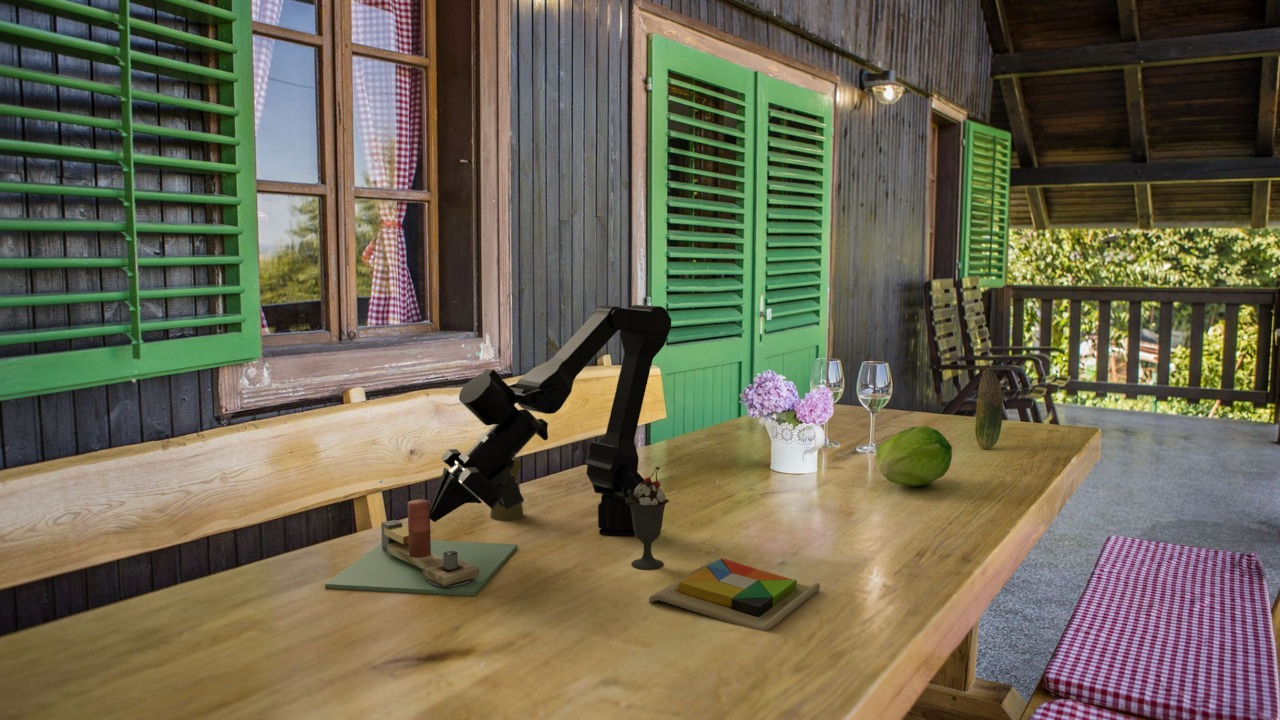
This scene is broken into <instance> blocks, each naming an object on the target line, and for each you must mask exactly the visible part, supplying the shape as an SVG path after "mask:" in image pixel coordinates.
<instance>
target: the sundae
mask: <svg viewBox="0 0 1280 720" xmlns="http://www.w3.org/2000/svg"><path fill="white" fill-rule="evenodd" d="M660 469H661V468H660V467H659V466H655V469H654V471H653V473H652V474H651V475H650V476H649V477H645V478H644V481H643V482H642V483H639V485H638V486H637V487H636V488H635V491H634V494H633V492H632V491H631V489H629V490H628V491H627V492H628V495H629V496H630V497H628V498H627V499H626V504H627V506H630V508H631V513H632V521H633V528H634V533H635V537H636V539H638V540H639V541H641V543H642V544H643V553H642V555H641V558H637V559H634V560H632V562H631V567H633V568H635V569H639V570H644V571H645V570H648V571H651V570H656V569H657V570H658V569H660V568H662V567H663V566H664V562H663V560H661V559H657V558H655V557H654V556H653V553H652V543H653V542H655V540H657V539H658V538H659V536H661V532H662V528H663V521H664V520H663V519H664V513H665V508H666V507H665V506H666V504H668V503H669V502H670V500H669V499H667V498H666V494H665V492H664V491H663V489H661V482H660V481H658V471H659V470H660ZM654 474H655V480H654V481H653V482H652V479H651V478H652V476H653V475H654Z"/></svg>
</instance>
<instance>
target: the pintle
mask: <svg viewBox="0 0 1280 720" xmlns="http://www.w3.org/2000/svg"><path fill="white" fill-rule="evenodd" d="M443 557H444V572H447V573H449V572H453V571H456V570H458V552H456V551H447V552H444V553H443ZM473 580H474V578H471V579H468V580H464V581H461V582H457V583H453V584H450V585H446V586H443V585H441V584H439V583H437V582H435V581H433V580H431V579H428V582H429V584H430V585H432V586H435V587H440V588H453V587H460V586H464V585H467V584H469V583H471V582H472V581H473Z"/></svg>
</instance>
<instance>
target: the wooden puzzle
mask: <svg viewBox="0 0 1280 720" xmlns="http://www.w3.org/2000/svg"><path fill="white" fill-rule="evenodd" d="M797 582H798V581H797V579H793V578H789V577H787V576H783V575H779V574H776V573H772V572H768V571H765V570H761V569H758V568H757V569H756V568H754V567H752V566H748V565H745V564H742V563H739V562H737V561H733V560H730V559H726V558H723V557H721V558H718V559H717V560H711V561H708V562H706V563H705V564H703V565H701V566H700V567H698V568H697V569H694V570H693V571H692V572H689V573H688V574H686V575H685V576H683V577H681V578H680V579H678V580H676V581H674V582H672V583H670V584H669V585H667V586H666V587H664V588H662V589H660V590H659V591H657V592H655V593H653V594H651V595H650V596H649V597H648V602H649V604H654V603H656V602H658V601H660V602H664V603H666V604H670V605H672V606H676V607H679V608H682V609H685V610H689V611H692V612H694V613H698V614H701V615H704V616H707V617H711V618H714V619H716V620H720V621H723V622H726V623H729V624H733V625H736V626H741V627H744V628H745V627H746V628H748V629H753V630H757V631H761V632H768V631H770V630H771V629H773V628H774V627H775V626H777V625H778V624H779V623H780V622H781V621H782V620H783V619H785V618H786V617H787V616H788V615H789V614H791V613H792V612H793V611H795V610H796V609H797V608H798V607H800V606H801V605H802V604H803V603H804V602H806V601H807V600H808V599H810V598H811V597H812V596H813V595H814V594H816V593H817V592H818V591H819V590H821V584H820V583H817V582H816V583H814V584H812V585H811V586H807V585H805V584H800V583H797Z"/></svg>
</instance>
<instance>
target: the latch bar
mask: <svg viewBox="0 0 1280 720" xmlns="http://www.w3.org/2000/svg"><path fill="white" fill-rule="evenodd" d="M430 504H431V503H430V500H427V499H414V500H410V501H408V502H407V523H408V524H407V526H408V527H407V528H408V535H409V543H407V544H402V543H400V542H396V543H391V544H387V553H389V554H391V555H393V556H395V557H397V558H400V559H402V560H404V561H406V562H408V563H410V564H413V565H415V566H417V567H419V568H421V569H423V576H424V577H426V578H429V579H431V580H433V581H435V582H437V583H439V584H441V585H443V586H446V585H450V584H453V583H457V582H461V581H464V580H468V579H471V578H475V577H478V576H479V568H478V567H475V566H473V565H471V564H468V563H466V562H464V561H461V560H459V559H458V570H456V571H453V572H449V573H447V572H444V559H442V558H440V557H438V556H436V555H433V554H431V540H432V537H431V519H430V508H431V505H430Z"/></svg>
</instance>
